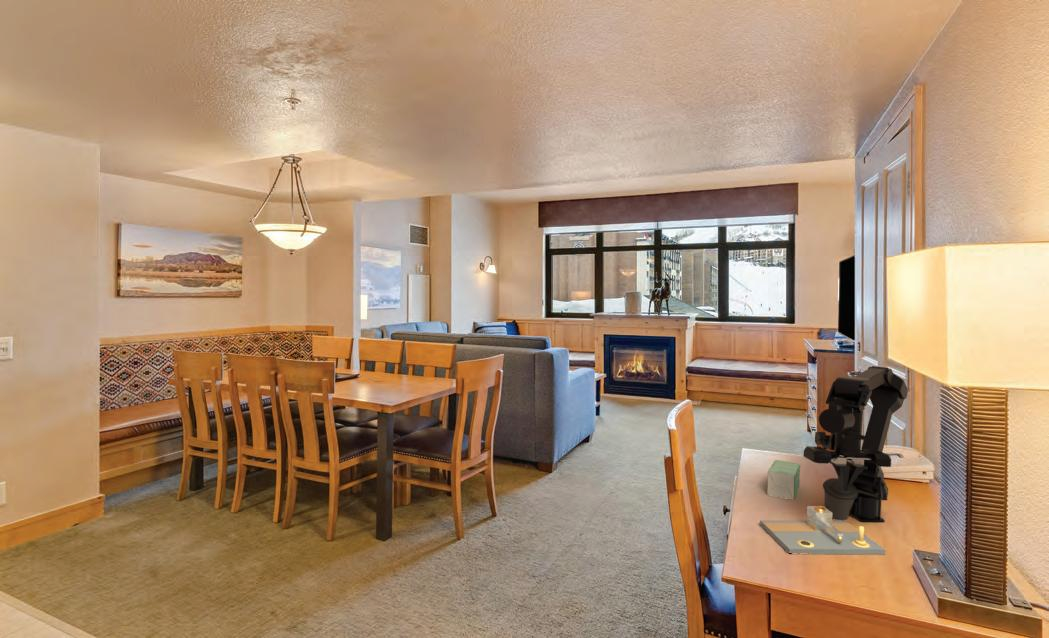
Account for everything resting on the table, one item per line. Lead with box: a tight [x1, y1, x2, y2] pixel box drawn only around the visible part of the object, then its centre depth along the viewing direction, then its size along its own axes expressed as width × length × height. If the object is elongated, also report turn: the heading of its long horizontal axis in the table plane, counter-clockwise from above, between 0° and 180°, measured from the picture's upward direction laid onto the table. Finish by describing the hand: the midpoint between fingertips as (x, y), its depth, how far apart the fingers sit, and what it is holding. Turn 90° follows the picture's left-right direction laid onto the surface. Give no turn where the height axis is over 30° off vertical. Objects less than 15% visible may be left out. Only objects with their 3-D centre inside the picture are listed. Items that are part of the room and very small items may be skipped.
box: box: [766, 460, 801, 501], centre depth 159 cm, size 7×14×8 cm, turn 147°
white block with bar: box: [806, 505, 843, 543], centre depth 128 cm, size 4×11×5 cm, turn 0°
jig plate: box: [759, 519, 886, 556], centre depth 128 cm, size 22×15×5 cm
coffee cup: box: [822, 477, 858, 521], centre depth 140 cm, size 8×8×10 cm
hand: (844, 490), depth 132 cm, fingers closed
